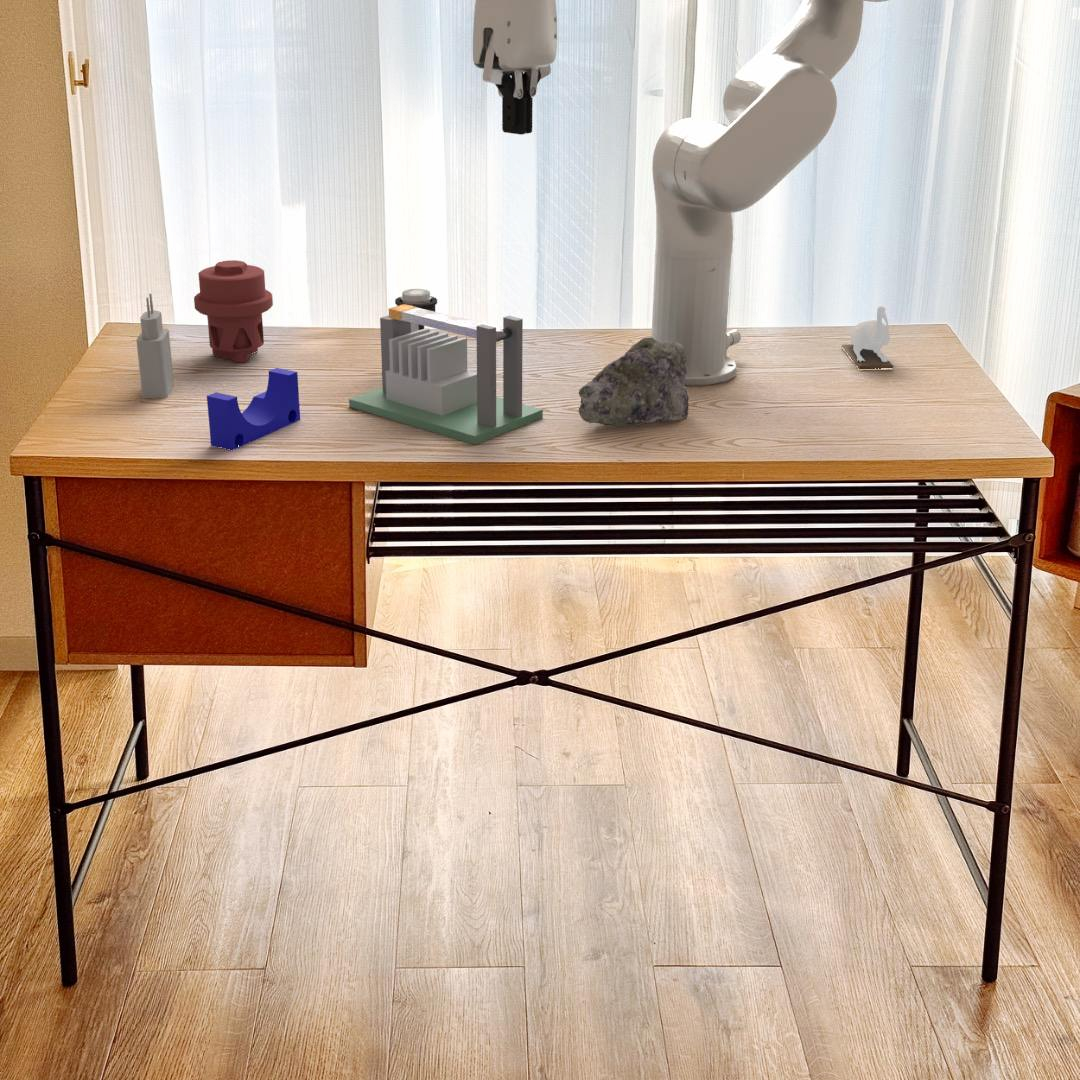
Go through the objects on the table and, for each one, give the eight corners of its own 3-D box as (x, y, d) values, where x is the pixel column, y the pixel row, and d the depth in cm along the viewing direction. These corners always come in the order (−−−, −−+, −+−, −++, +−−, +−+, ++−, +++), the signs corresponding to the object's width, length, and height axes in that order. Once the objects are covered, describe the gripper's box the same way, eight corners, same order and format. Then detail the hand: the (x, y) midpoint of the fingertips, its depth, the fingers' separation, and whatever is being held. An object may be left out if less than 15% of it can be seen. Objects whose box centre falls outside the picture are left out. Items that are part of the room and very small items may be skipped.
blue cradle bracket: (270, 414, 173) (266, 365, 170) (300, 421, 171) (297, 371, 168) (200, 444, 163) (196, 393, 161) (232, 452, 161) (227, 400, 159)
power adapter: (141, 398, 177) (130, 301, 172) (149, 384, 182) (140, 289, 177) (167, 398, 177) (157, 301, 172) (175, 384, 182) (166, 289, 177)
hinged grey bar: (404, 313, 174) (404, 303, 174) (511, 338, 165) (511, 328, 164) (388, 318, 172) (388, 308, 172) (495, 344, 163) (495, 333, 162)
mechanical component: (183, 358, 192) (239, 341, 200) (236, 372, 187) (292, 354, 194) (174, 265, 187) (232, 251, 195) (228, 276, 182) (286, 262, 189)
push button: (432, 378, 185) (430, 301, 181) (391, 376, 186) (388, 299, 182) (441, 363, 191) (440, 288, 187) (401, 361, 192) (399, 286, 188)
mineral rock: (577, 434, 167) (578, 349, 163) (579, 404, 177) (581, 323, 173) (690, 437, 167) (695, 352, 162) (686, 407, 176) (690, 325, 172)
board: (418, 383, 183) (415, 285, 178) (542, 417, 172) (543, 313, 167) (349, 406, 175) (344, 304, 170) (475, 444, 163) (474, 336, 158)
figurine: (901, 381, 187) (908, 315, 183) (867, 382, 186) (872, 315, 183) (873, 349, 199) (879, 287, 196) (840, 350, 199) (845, 287, 196)
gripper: (534, -42, 169) (532, 122, 176) (446, -38, 158) (449, 136, 166) (585, -39, 164) (582, 128, 172) (499, -35, 154) (500, 144, 161)
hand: (517, 132), depth 169 cm, fingers closed
